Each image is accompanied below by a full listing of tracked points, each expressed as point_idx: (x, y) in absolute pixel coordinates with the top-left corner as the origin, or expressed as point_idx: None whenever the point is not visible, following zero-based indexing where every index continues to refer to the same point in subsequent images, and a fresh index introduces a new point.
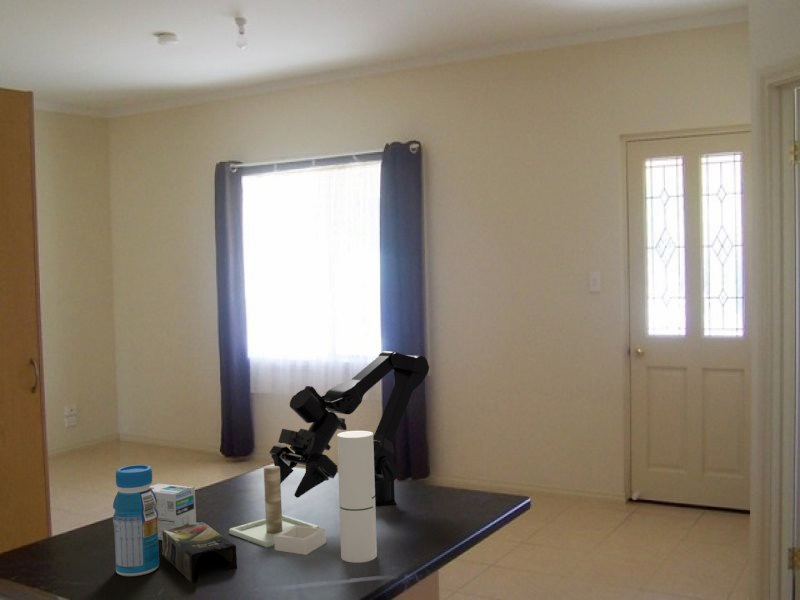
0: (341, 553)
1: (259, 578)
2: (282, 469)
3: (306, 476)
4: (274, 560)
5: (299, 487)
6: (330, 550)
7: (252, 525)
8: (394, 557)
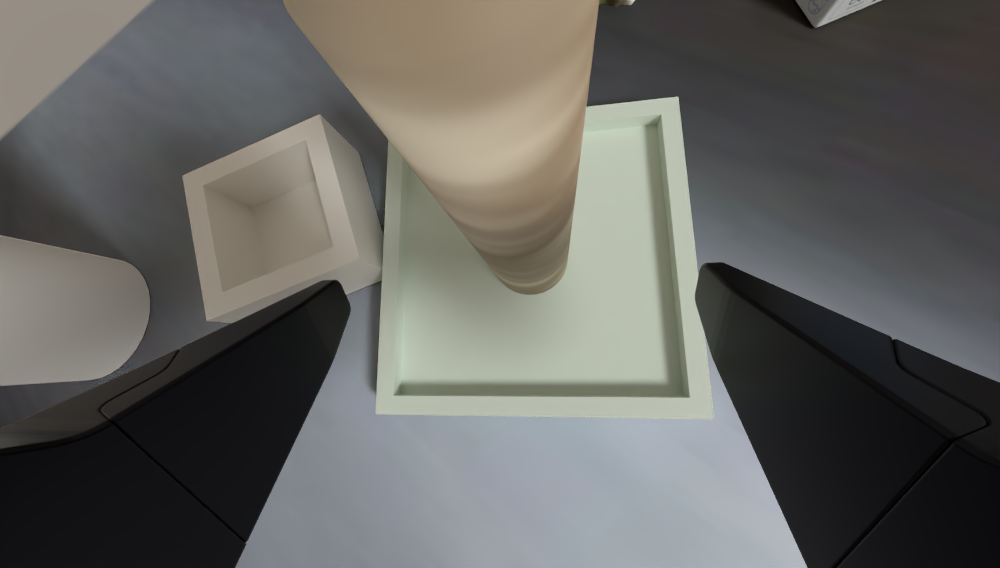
0: (98, 257)
1: (237, 23)
2: (904, 531)
3: (98, 394)
4: (306, 117)
5: (262, 311)
6: None
7: (667, 216)
8: (15, 408)
